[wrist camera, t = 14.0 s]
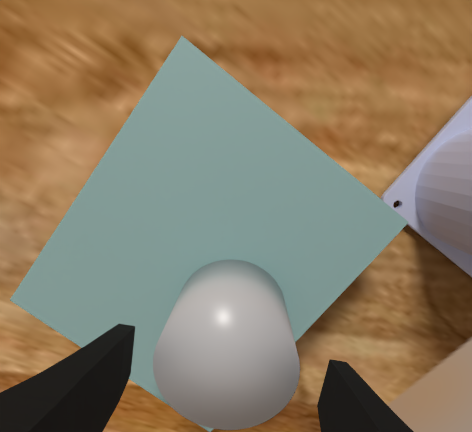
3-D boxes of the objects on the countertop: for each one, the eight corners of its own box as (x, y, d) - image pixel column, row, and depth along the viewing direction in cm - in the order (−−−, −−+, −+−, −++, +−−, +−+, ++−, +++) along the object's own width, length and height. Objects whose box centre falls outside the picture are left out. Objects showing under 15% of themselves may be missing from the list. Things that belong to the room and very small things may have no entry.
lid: (402, 219, 14) (408, 222, 13) (211, 422, 17) (210, 432, 16) (184, 41, 13) (181, 35, 12) (18, 294, 15) (9, 300, 15)
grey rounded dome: (297, 272, 14) (317, 320, 10) (271, 366, 15) (280, 442, 11) (187, 249, 14) (164, 289, 10) (170, 345, 15) (143, 414, 11)
